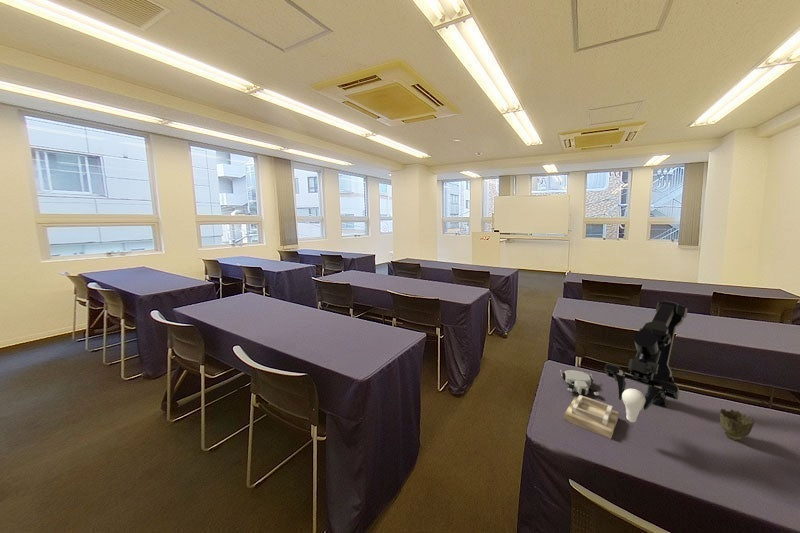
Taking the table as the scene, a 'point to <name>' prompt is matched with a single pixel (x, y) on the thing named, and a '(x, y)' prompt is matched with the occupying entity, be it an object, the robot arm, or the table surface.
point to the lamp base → (592, 416)
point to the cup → (735, 424)
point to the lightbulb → (633, 403)
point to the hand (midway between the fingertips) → (631, 404)
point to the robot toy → (579, 382)
